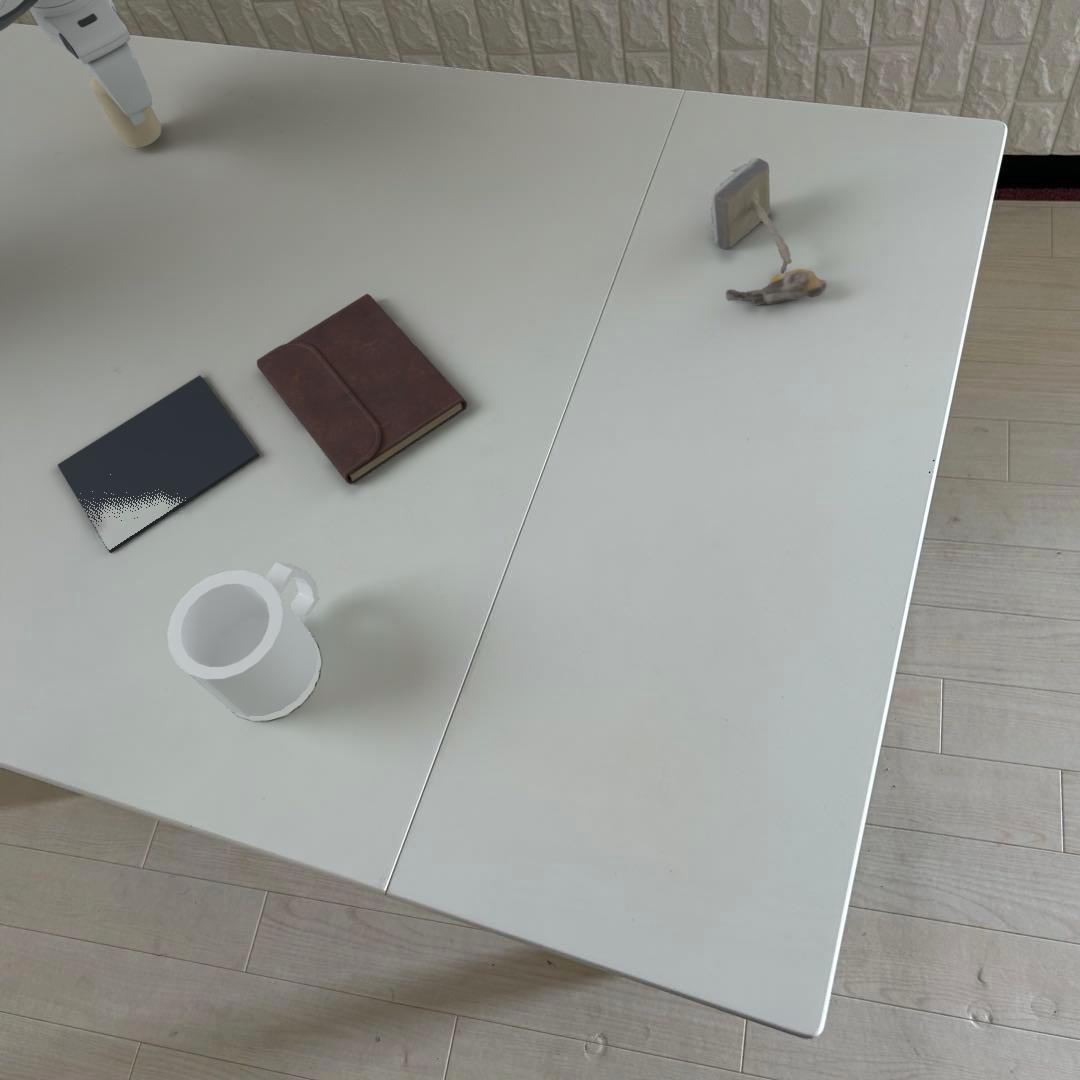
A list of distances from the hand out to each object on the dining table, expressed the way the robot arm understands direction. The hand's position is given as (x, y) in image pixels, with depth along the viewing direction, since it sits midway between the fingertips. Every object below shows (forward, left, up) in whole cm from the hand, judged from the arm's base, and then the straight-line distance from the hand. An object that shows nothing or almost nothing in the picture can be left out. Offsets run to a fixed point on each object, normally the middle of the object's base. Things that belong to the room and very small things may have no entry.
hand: (127, 107), depth 134 cm
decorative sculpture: (+42, -71, -6) cm, 83 cm away
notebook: (0, -55, -6) cm, 55 cm away
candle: (0, 0, -4) cm, 4 cm away
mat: (-22, -48, -5) cm, 53 cm away
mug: (-23, -77, -6) cm, 81 cm away
